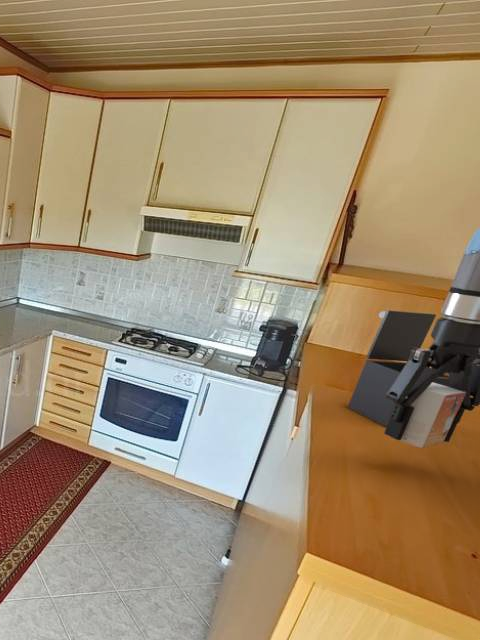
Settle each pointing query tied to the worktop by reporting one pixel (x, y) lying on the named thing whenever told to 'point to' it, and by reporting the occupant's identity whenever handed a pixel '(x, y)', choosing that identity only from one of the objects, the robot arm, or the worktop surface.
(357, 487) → the worktop surface
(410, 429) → the small box
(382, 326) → the bin lid
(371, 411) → the dark gray bin
